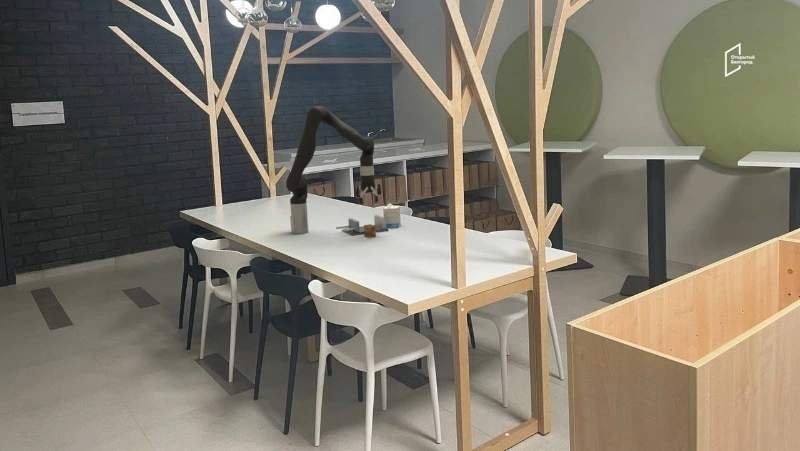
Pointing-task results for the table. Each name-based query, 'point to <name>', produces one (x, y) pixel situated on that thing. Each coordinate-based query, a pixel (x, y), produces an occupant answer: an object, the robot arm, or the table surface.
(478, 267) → the table surface
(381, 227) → the vise base
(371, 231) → the block
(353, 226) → the sliding jaw
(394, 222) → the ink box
